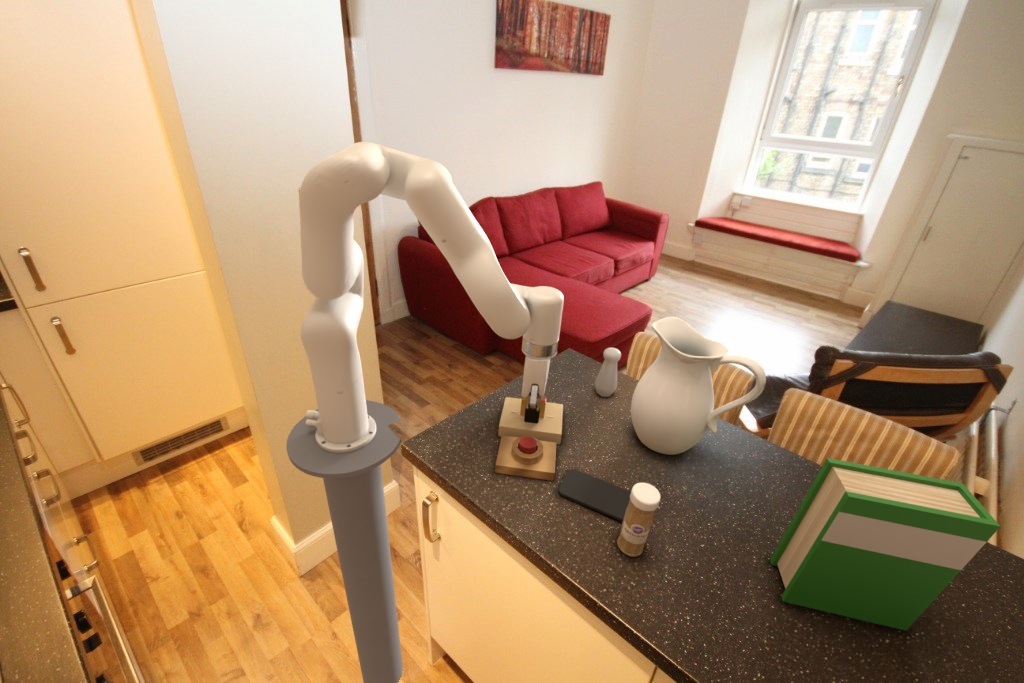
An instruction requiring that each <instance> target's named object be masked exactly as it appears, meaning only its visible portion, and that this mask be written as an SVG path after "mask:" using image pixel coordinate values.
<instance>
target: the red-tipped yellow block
mask: <svg viewBox="0 0 1024 683" xmlns="http://www.w3.org/2000/svg"><path fill="white" fill-rule="evenodd" d="M527 398H528V397H522V396H521V399H522V401H521V411H520V415H522V416H525V407H526V406H527ZM530 400H531V398H530ZM537 401H538V399H536V404H537ZM546 402H547V397H545V396H543V398H542V399H541V398H540V404H539V408H540V413H539V418H544V413H545V406H546ZM529 403H530V402H529Z"/></svg>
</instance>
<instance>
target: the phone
mask: <svg viewBox="0 0 1024 683" xmlns="http://www.w3.org/2000/svg"><path fill="white" fill-rule="evenodd" d="M558 494H559V495H560V496H561V497H564V498H566V499H568V500H570V501H573V502H575V503H577V504H579V505H582V506H584V507H587V508H589V509H592V510H594V511H596V512H598V513H600V514H603V515H605V516H607V517H610V518H613V519H615V520H617V521H619V522H621V523H623V520H624V516H625V513H626V509H627V507H628V504H629V501H630V494H631V491H630V490H627V489H625V488H623V487H620V486H618V485H614V484H613V483H609V482H607V481H604V480H603V479H601V478H600V479H599V478H598V477H595V476H592V475H590V474H587V473H585V472H582V471H579V470H577V469H574V468H572V469H569V470H568V471H567V472H566V474H565V476H564V478H563V480H562V481H561V483H560V485H559V487H558Z"/></svg>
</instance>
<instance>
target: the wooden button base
mask: <svg viewBox="0 0 1024 683" xmlns="http://www.w3.org/2000/svg"><path fill="white" fill-rule="evenodd" d="M523 437H525V436H523ZM521 438H522V437H519V438H518V437H511V436H503V435H502V437H501V436H500V442H499V446H498V451H497V457H496V460H495V464H494V465H495V467H494V473H496V474H503V475H510V476H517V477H523V478H529V479H530V478H531V479H537V480H545V481H552V482H554V480H555V474H556V458H557V444H556V443H555V442H547V441H540V440H538V439H536V438H535V439H536V441H537V447H536V451H535V452H534V453H533V454H524V453H522V452H521V451H520V450H519V442H520V439H521ZM533 438H534V437H533Z"/></svg>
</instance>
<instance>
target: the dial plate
mask: <svg viewBox="0 0 1024 683" xmlns="http://www.w3.org/2000/svg"><path fill="white" fill-rule="evenodd" d="M521 401H522V398H517V397H509V396H505V398H504V403H503V406H502V411H501V415H500V419H499V423H498V435H497V436H498V437H500V438H501V437H502V435H503V436H511V437H518V438H519V437H523V436H530V437H534V438H536V439H538V440H540V441H547V442H555V443H556V445H561V442H562V435H563V416H564V415H563V414H564V412H563V411H564V404H563V403H556V402H547V401H546V406H545V413H544V418H539V422H538V423H537V424H536V423H528V422H524V417H525V416H522V415H520V411H521Z"/></svg>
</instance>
